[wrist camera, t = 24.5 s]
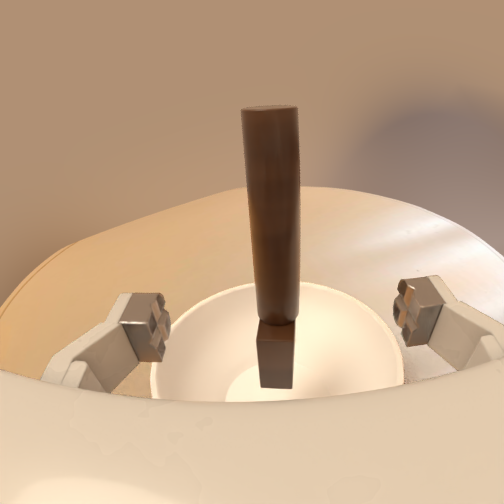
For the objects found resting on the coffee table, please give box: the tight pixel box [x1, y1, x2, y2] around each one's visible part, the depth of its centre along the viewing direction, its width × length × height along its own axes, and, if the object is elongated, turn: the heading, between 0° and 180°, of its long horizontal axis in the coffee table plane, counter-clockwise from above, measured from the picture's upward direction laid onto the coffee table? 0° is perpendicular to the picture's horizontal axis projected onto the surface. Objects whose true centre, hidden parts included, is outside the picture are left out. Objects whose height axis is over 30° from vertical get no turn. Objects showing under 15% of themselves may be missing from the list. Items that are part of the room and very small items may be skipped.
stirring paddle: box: [241, 105, 300, 389], centre depth 17 cm, size 5×3×17 cm, turn 172°
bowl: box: [150, 282, 404, 402], centre depth 24 cm, size 20×20×7 cm
